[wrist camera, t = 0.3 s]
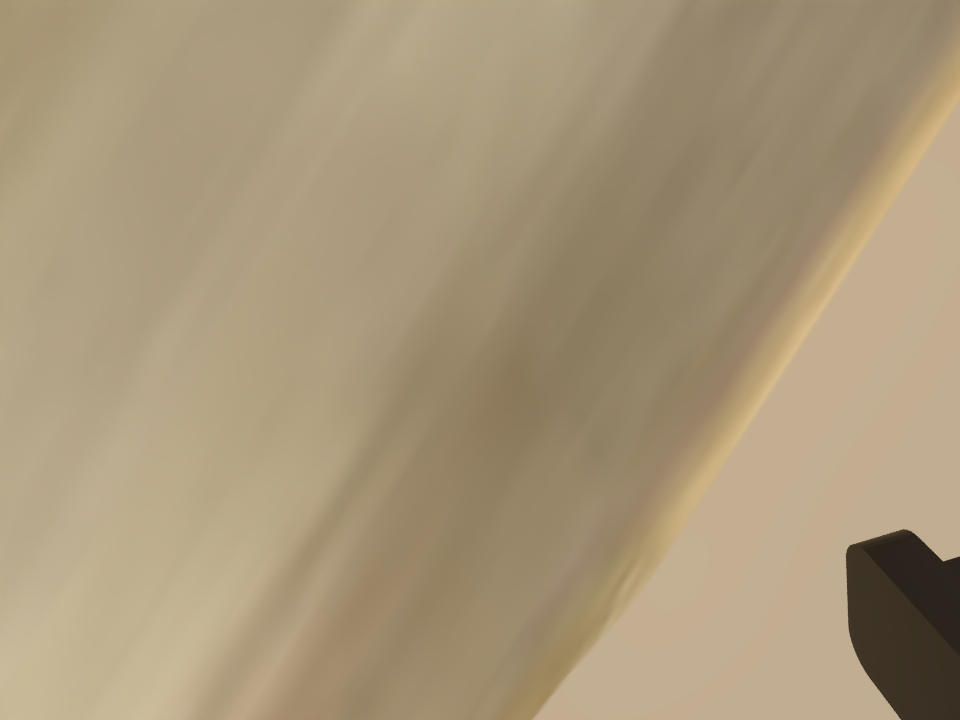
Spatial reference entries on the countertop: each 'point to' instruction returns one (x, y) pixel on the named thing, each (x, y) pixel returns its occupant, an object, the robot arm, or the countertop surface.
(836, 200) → the countertop surface
